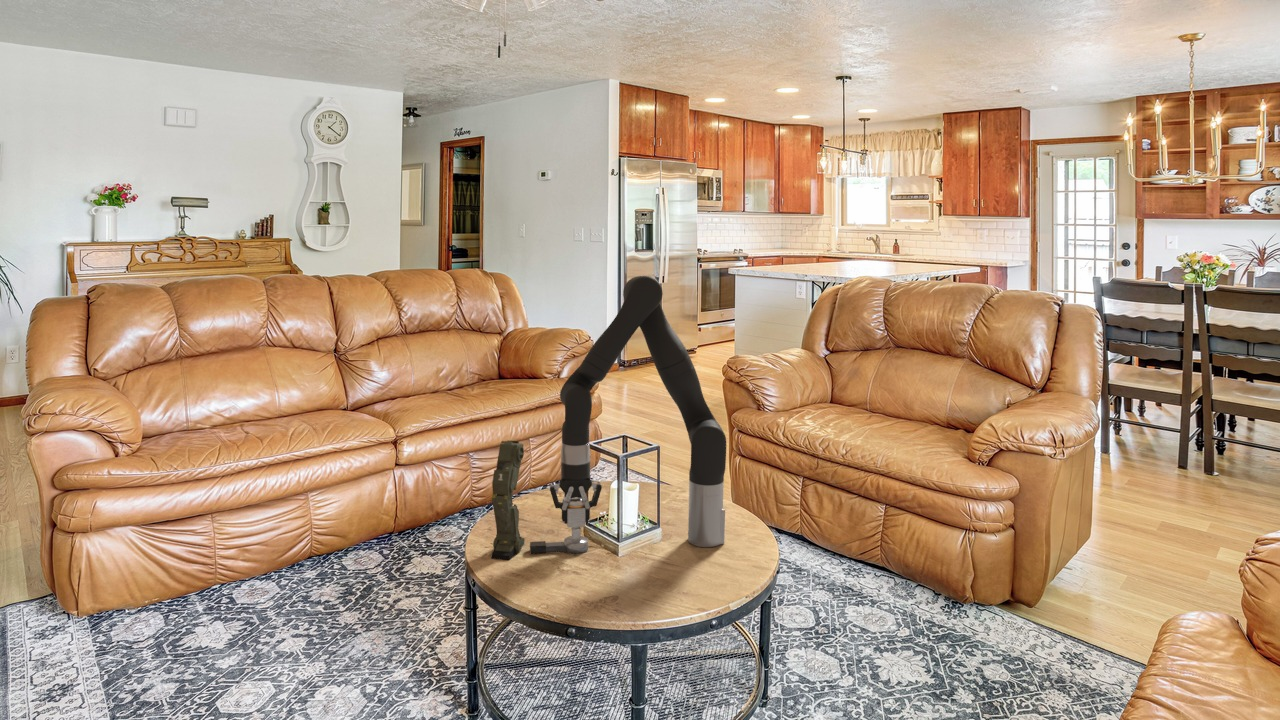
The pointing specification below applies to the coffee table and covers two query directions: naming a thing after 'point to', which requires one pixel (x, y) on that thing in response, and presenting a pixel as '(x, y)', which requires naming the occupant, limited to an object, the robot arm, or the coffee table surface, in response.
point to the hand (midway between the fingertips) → (575, 521)
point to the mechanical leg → (506, 501)
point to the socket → (576, 513)
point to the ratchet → (562, 544)
